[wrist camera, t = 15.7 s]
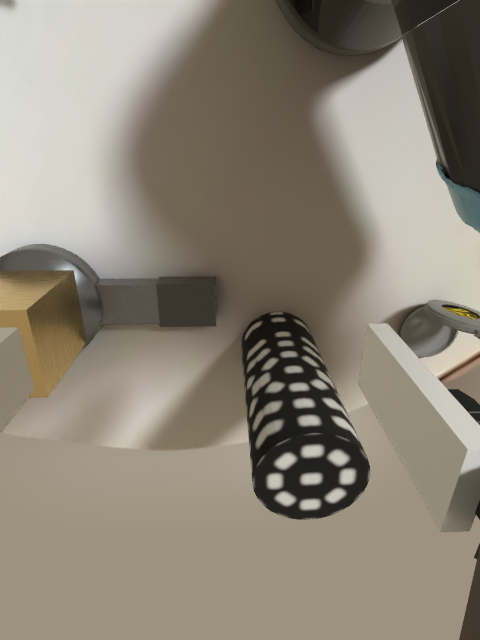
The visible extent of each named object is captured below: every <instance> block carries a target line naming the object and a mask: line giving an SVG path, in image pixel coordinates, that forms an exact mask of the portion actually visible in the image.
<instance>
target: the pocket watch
mask: <svg viewBox="0 0 480 640" xmlns="http://www.w3.org/2000/svg"><path fill="white" fill-rule="evenodd" d="M458 330H459V331H462V332H466V333H470V334H475V335H474V336H476V337H477V338H479V339H480V312H479V311H476V310H474V309H471V308H468V307H466V306H463V305H459V304H456V303H453V302H447V301H441V300H431V301H428V303H427V304H426V305H425V306H423V307H421V308H418V309H417V310H415V311H414V312H412V313H411V314H410V315H409V316H408V317H407V318H406V320H405V321H404V323H403V325H402V327H401V331H400V338H401V339H402V340H403V341H404V342H405V343H406V345H407V346H408V347H409V348H410V349H411V350H412V351H413V352H414V353H415V354H416V356H418V357H430V356H434V355H437V354H439V353H441V352H443V351H444V350H445V349H447V348H448V347H449V346H450V345H451V344H452V343H453V342H454V340H455V338H456V336H457V334H458Z"/></svg>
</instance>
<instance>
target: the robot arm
mask: <svg viewBox="0 0 480 640" xmlns="http://www.w3.org/2000/svg"><path fill="white" fill-rule="evenodd" d="M276 1H277V3H278V5H279V7H280V9H281V11H282V13H283V14H284V16H285V17H286V19H287V21H288V22H289V23H290V25H291V26H292V27H293V28H294V29H295V30H296V32H297V33H298V34H299V35H300V36H301V37H303V38H304V39H305V40H306V41H308V42H309V43H311V44H312V45H314V46H315V47H317V48H319V49H321V50H324V51H326V52H329V53H333V54H337V55H346V56H356V55H363V54H368V53H371V52H375V51H377V50H380V49H382V48H384V47H386V46H388V45H390V44H392V43H393V42H395V41H397V40H398V39H400V38H402V40H403V43H404V47H405V50H406V53H407V57H408V60H409V64H410V67H411V71H412V74H413V77H414V81H415V84H416V88H417V91H418V95H419V98H420V101H421V105H422V108H423V112H424V115H425V118H426V122H427V125H428V129H429V132H430V136H431V139H432V142H433V146H434V149H435V153H436V156H437V161H436V167H437V170H438V173H439V175H440V177H441V178H442V179H443V180H444V182H445V183H446V184H447V187H448V190H449V192H450V195H451V198H452V201H453V203H454V206H455V209H456V211H457V213H458V215H459V216H460V218H461V219H462V220H463V222H465V223H466V224H468V225H469V226H471V227H473V228H474V229H475V230H477V231H478V232H479V233H480V0H460V1H458V0H276ZM457 1H458V2H457ZM455 2H457V3H455ZM453 3H455V4H453ZM452 4H453V5H452ZM450 5H452V6H450ZM449 6H450V7H449ZM447 7H448V8H447ZM445 8H447V9H445ZM444 9H445V10H444ZM442 10H444V11H442ZM440 11H442V12H440ZM439 12H440V13H439ZM437 13H439V14H437ZM435 14H437V15H435ZM434 15H435V16H434ZM432 16H434V17H432ZM431 17H432V18H431ZM429 18H431V19H429ZM427 19H429V20H427ZM426 20H427V21H426ZM424 21H426V22H424ZM422 22H424V23H422ZM421 23H422V24H421ZM419 24H421V25H419ZM418 25H419V26H418ZM417 26H418V27H417ZM415 27H416V28H415ZM358 385H359V387H360V388H361V390H362V392H363V394H364V396H365V397H366V399H367V401H368V403H369V405H370V406H371V408H372V410H373V412H374V414H375V415H376V417H377V419H378V421H379V423H380V424H381V426H382V428H383V430H384V432H385V433H386V435H387V437H388V439H389V441H390V442H391V444H392V446H393V448H394V450H395V451H396V453H397V455H398V457H399V459H400V460H401V462H402V464H403V466H404V468H405V469H406V471H407V473H408V475H409V477H410V478H411V480H412V482H413V484H414V486H415V487H416V489H417V491H418V493H419V495H420V496H421V498H422V500H423V502H424V504H425V505H426V507H427V509H428V511H429V513H430V514H431V516H432V518H433V520H434V522H435V523H436V525H437V527H438V528H439V531H440V532H459V531H470V529H471V526H472V523H473V521H474V518H475V515H477V516H478V518H479V519H480V405H479V404H478V403H477V402H476V401H475V400H474V399H473V398H471V397H470V396H468V395H466V394H465V393H463V392H461V391H460V390H458V389H452V390H451V389H450V390H449V389H448V390H447V389H446V388H445V386H444V385H443V384H442V383H441V382H440V381H439V380H438V379H437V378H436V377H435V375H434V374H433V373H432V372H431V371H430V370H429V369H428V368H427V367H426V365H425V364H424V363H423V362H422V361H421V360H420V359H419V358H418V357H417V356H416V354H415V353H414V352H413V351H412V350H411V349H410V348H409V347H408V346H407V345H406V343H405V342H404V341H403V340H402V339H401V338H400V337H399V336H398V335H397V333H396V332H395V331H394V330H393V329H392V328H391V327H390V326H389V325H388V324H387V323H380V324H368V325H367V331H366V337H365V343H364V350H363V356H362V362H361V368H360V374H359V381H358ZM34 390H35V388H34V384H33V380H32V377H31V373H30V369H29V365H28V362H27V358H26V354H25V350H24V346H23V343H22V339H21V335H20V331H19V327H8V328H0V434H1V432H2V431H3V430H4V428H5V427H6V426H7V425H8V423H9V422H10V421H11V419H12V418H13V417H14V415H15V414H16V413H17V412H18V410H19V409H20V408H21V406H22V405H23V404H24V403H25V401H26V400H27V399H28V397H29V396H30V395H31V393H32V392H33V391H34ZM474 558H476V559H477V563H476V567H475V571H474V576H473V581H472V585H471V590H470V594H469V599H468V603H467V607H466V612H465V616H464V621H463V626H462V630H461V634H460V639H459V640H480V544H479V546H478V549H477V552H476V554H475V556H474Z"/></svg>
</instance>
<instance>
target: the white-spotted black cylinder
mask: <svg viewBox="0 0 480 640" xmlns="http://www.w3.org/2000/svg"><path fill="white" fill-rule="evenodd" d="M241 349H242V361H243V373H244V385H245V397H246V409H247V421H248V433H249V445H250V457H251V470H252V481H253V488H254V492H255V494H256V496H257V498H258V500H259V501H260V502H261V503H262V504H263V505H264V506H265V507H266V508H267V509H269V510H270V511H272V512H274V513H276V514H278V515H280V516H284V517H287V518H292V519H304V520H307V519H308V520H309V519H317V518H322V517H326V516H330V515H333V514H335V513H337V512H340V511H342V510H343V509H345V508H346V507H348V506H350V505H351V504H352V503H353V502H354V501H356V500H357V499H358V498H359V497H360V495H361V494H362V493H363V492H364V490H365V488H366V486H367V484H368V481H369V477H370V465H369V462H368V458H367V456H366V454H365V452H364V450H363V447H362V445H361V443H360V441H359V439H358V436H357V434H356V432H355V430H354V428H353V426H352V423H351V421H350V419H349V417H348V414H347V412H346V410H345V408H344V406H343V403H342V401H341V399H340V397H339V395H338V392H337V390H336V388H335V386H334V384H333V381H332V379H331V377H330V375H329V373H328V370H327V368H326V366H325V364H324V362H323V359H322V357H321V355H320V353H319V351H318V348H317V346H316V344H315V342H314V340H313V337H312V335H311V333H310V331H309V329H308V327H307V325H306V324H305V323H304V322H303V321H302V320H301V319H299V318H298V317H296V316H294V315H292V314H289V313H284V312H273V313H268V314H265V315H262V316H260V317H258V318H257V319H255V320H254V321H253V322H252V323H251V324H250V325H249V326H248V327H247V328H246V330H245V332H244V334H243V337H242V343H241Z"/></svg>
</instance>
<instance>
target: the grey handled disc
mask: <svg viewBox="0 0 480 640" xmlns="http://www.w3.org/2000/svg"><path fill="white" fill-rule="evenodd" d="M15 270H74V274H75V280H76V285H77V290H78V296H79V301H80V307H81V312H82V318H83V323H84V329H85V334H86V339H87V342H86V343H85V345H84V346H83V348H84V347H86V346H87V345H88V344H89V343H90V342H91V340H92V339H93V338H94V336H95V335H96V333H97V332H98V330H99V329H100V327H101V326H102V324H157V323H160V327H182V326H216V277H159V279H99V277H98V276H97V274H96V273H95V271H94V270H93V269H92V268H91V267H90V266H89V265H88V264H87V263H86V262H85V261H84V260H82V259H81V258H80V257H78V256H77V255H75V254H73V253H72V252H70V251H67V250H65V249H63V248H60V247H56V246H52V245H46V244H33V245H27V246H23V247H20V248H18V249H15V250H14V251H12V252H10V253H8V254H6V255H4V256H2V257H0V271H15ZM83 348H82V349H83Z"/></svg>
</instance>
